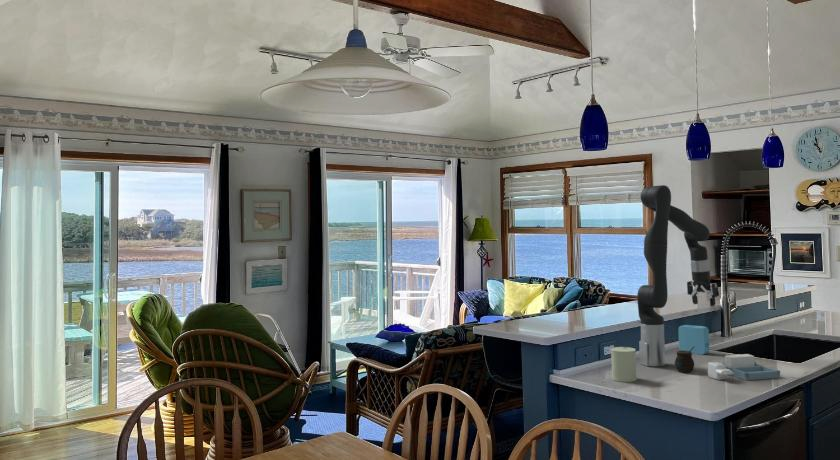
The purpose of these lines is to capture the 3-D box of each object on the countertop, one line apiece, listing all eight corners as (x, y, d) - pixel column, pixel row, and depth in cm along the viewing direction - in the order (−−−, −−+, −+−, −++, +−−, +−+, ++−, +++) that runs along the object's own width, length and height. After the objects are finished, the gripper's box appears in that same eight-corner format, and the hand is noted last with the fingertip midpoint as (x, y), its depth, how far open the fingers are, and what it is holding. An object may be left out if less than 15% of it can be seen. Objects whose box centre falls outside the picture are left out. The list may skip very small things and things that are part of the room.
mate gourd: (671, 370, 255) (670, 345, 255) (689, 369, 256) (688, 344, 256) (680, 374, 248) (679, 348, 248) (698, 373, 248) (698, 347, 248)
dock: (746, 380, 235) (745, 364, 235) (716, 369, 253) (715, 354, 253) (780, 377, 237) (779, 361, 237) (747, 367, 255) (747, 352, 255)
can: (637, 377, 245) (636, 346, 245) (635, 382, 237) (634, 350, 237) (613, 375, 249) (612, 345, 249) (610, 381, 241) (609, 349, 241)
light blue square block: (709, 353, 283) (708, 326, 283) (705, 355, 280) (704, 328, 280) (683, 350, 292) (682, 324, 292) (678, 351, 289) (678, 325, 289)
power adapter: (738, 382, 232) (737, 367, 232) (727, 384, 231) (726, 368, 231) (717, 376, 243) (716, 361, 243) (706, 377, 241) (705, 362, 241)
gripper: (681, 270, 287) (685, 305, 289) (709, 272, 275) (713, 308, 276) (691, 267, 291) (695, 301, 292) (720, 268, 279) (723, 304, 280)
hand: (704, 305), depth 284 cm, fingers open, 8 cm apart
